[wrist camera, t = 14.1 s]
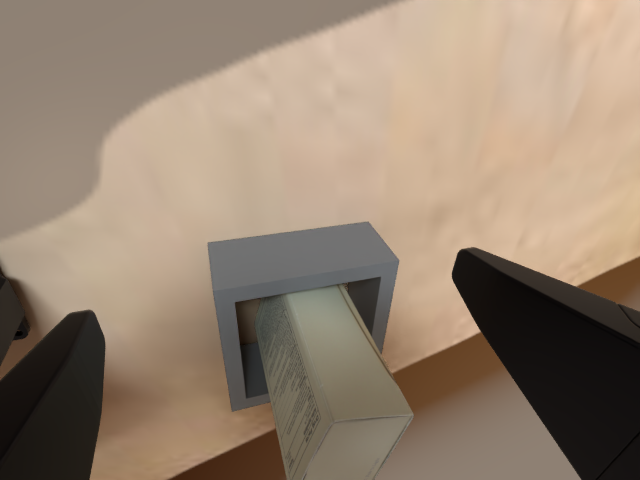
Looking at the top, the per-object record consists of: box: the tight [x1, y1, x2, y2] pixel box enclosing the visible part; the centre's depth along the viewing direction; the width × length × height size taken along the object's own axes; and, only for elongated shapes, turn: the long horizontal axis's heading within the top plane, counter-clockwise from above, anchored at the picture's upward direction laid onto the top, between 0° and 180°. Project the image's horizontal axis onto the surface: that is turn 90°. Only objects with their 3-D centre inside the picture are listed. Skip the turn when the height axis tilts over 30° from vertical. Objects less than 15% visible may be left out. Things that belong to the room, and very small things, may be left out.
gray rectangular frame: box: [208, 222, 399, 412], centre depth 25 cm, size 10×10×4 cm
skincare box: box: [254, 283, 414, 480], centre depth 22 cm, size 6×4×12 cm
